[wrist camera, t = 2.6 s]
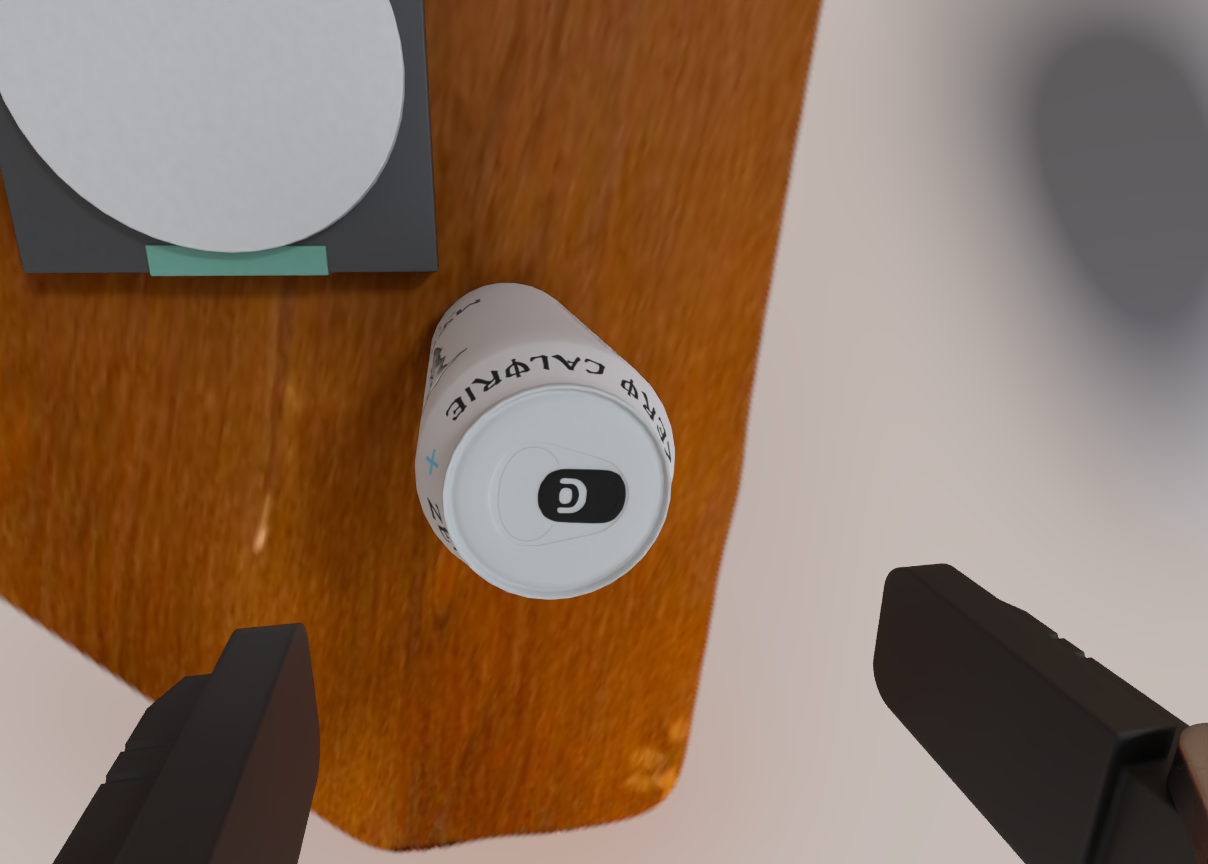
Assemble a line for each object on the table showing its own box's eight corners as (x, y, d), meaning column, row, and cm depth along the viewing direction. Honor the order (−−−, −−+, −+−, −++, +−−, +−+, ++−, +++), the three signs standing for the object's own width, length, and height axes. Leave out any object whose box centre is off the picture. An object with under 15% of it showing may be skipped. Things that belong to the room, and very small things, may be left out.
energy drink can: (434, 272, 27) (416, 342, 13) (587, 287, 29) (719, 365, 15) (427, 422, 29) (405, 626, 15) (571, 430, 30) (677, 623, 16)
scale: (-42, -187, 21) (-113, -244, 18) (416, -138, 23) (412, -181, 21) (56, 271, 25) (9, 278, 22) (438, 270, 27) (437, 277, 25)
